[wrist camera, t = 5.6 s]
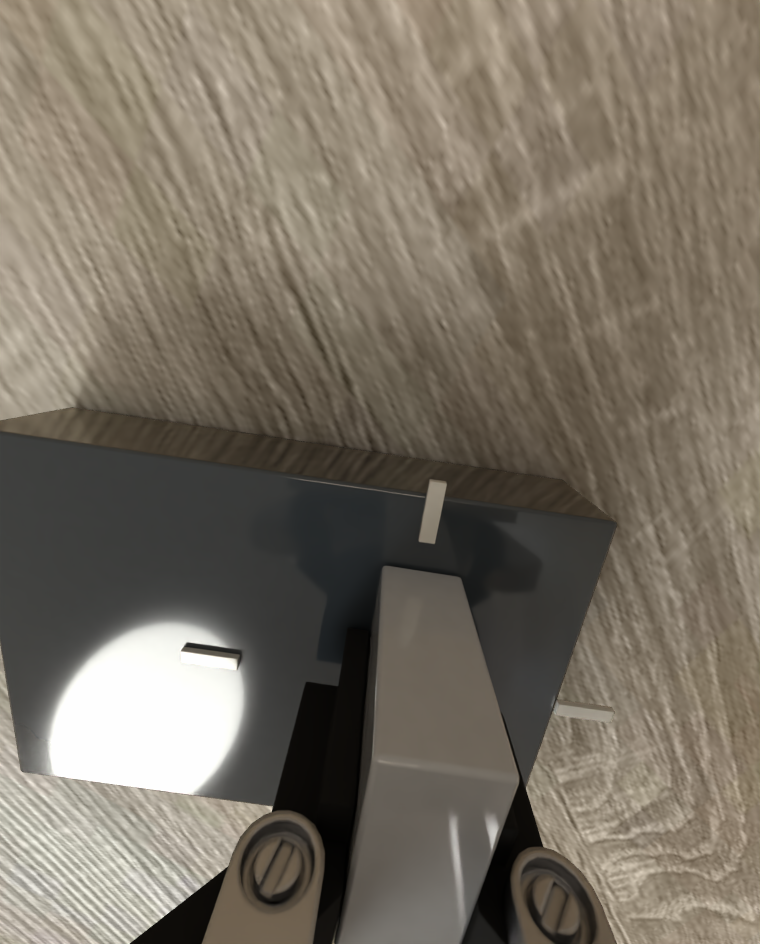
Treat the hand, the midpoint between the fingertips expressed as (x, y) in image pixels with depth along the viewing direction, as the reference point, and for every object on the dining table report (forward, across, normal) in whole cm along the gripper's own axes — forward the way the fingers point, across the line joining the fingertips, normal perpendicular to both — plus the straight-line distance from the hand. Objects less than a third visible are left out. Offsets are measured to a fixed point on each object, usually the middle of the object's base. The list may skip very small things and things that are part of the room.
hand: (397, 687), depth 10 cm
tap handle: (0, 0, 0) cm, 0 cm away
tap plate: (+3, +3, 0) cm, 4 cm away
